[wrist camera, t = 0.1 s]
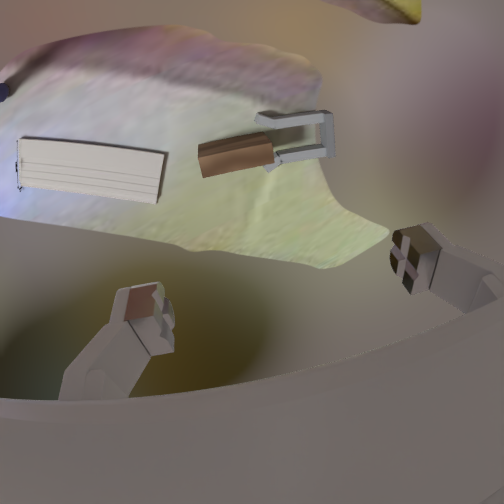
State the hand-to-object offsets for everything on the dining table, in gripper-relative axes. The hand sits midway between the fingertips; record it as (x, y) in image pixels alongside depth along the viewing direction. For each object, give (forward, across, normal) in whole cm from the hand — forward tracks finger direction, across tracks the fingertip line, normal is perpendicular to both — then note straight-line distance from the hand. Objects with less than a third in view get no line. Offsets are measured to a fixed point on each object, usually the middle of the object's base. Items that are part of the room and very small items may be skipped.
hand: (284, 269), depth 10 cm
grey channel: (+48, -13, +10) cm, 51 cm away
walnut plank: (+48, -1, +10) cm, 49 cm away
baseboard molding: (+49, +28, +7) cm, 57 cm away
